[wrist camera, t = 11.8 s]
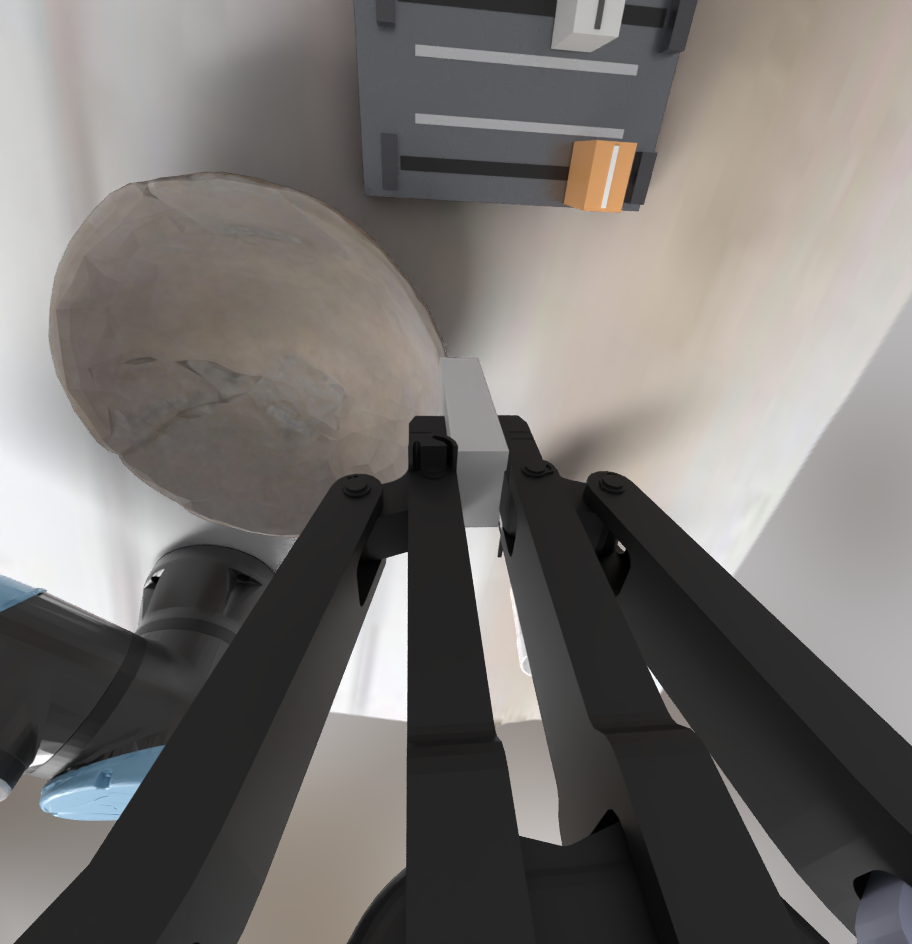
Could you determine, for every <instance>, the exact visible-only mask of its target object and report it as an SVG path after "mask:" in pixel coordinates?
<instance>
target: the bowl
mask: <svg viewBox="0 0 912 944" xmlns="http://www.w3.org/2000/svg"><path fill="white" fill-rule="evenodd" d="M49 342H50V349H51V354H52V358H53V362H54V366H55V370H56V374H57V376H58V378H59V380H60V382H61V384H62V386H63V388H64V390H65V392H66V394H67V396H68V398H69V400H70V402H71V404H72V407H73V409H74V411H75V412H76V414H77V415H78V417H79V418H80V419H81V421H82V422H83V423H84V425H85V426H86V427H87V429H88V430H89V432H90V433H91V434H92V436H93V437H94V438H95V440H96V441H97V442H98V443H99V444H101V445H102V446H103V447H104V448H105V449H107V450H108V451H111V452H113V453H116V454H118V455H119V457H120V459H121V461H122V462H123V464H124V465H125V466H126V467H127V468H128V469H129V470H131V471H132V472H133V473H134V474H135V475H136V476H137V477H138V478H140V479H141V480H142V481H144V482H145V483H146V484H148V485H149V486H150V487H152V488H153V489H155V490H157V491H158V492H160V493H161V494H163V495H165V496H167V497H168V498H170V499H172V500H173V501H175V502H177V503H179V504H180V505H181V506H183V507H184V508H185V509H186V510H188V511H189V512H190V513H192V514H194V515H196V516H198V517H201V518H203V519H205V520H208V521H211V522H214V523H217V524H220V525H224V526H228V527H232V528H235V529H239V530H242V531H245V532H249V533H256V534H263V535H269V536H283V537H287V538H291V537H299V536H300V534H301V533H302V531H303V529H304V528H305V526H306V525H307V523H308V522H309V520H310V519H311V517H312V515H313V514H314V512H315V511H316V509H317V508H318V506H319V504H320V503H321V501H322V500H323V498H324V497H325V495H326V494H327V492H328V490H329V489H330V487H331V486H332V485H333V484H334V483H335V482H336V481H337V480H338V479H340V478H342V477H344V476H347V475H351V474H367V475H371V476H374V477H375V478H377V479H378V480H380V482H381V484H384V483H388V482H392V481H395V480H397V479H399V478H401V477H402V476H403V475H404V474H405V473H406V472H407V470H408V444H409V423H410V421H411V420H412V419H413V418H414V416H438V393H439V364H440V357H445V358H447V357H446V353H445V350H444V347H443V344H442V341H441V338H440V336H439V333H438V331H437V329H436V327H435V325H434V322H433V320H432V317H431V315H430V312H429V310H428V308H427V306H426V304H425V303H424V302H423V300H422V299H421V298H420V296H419V295H418V293H417V292H416V290H415V289H414V287H413V286H412V284H411V283H410V281H409V280H408V279H407V277H406V276H405V275H404V274H403V273H402V272H401V271H400V270H399V269H398V267H397V266H396V265H395V263H394V262H393V261H392V259H391V258H390V257H389V256H388V255H387V254H386V253H385V252H384V251H383V250H382V248H381V247H380V246H379V245H378V244H377V243H376V242H375V241H374V240H373V239H372V238H371V237H370V236H369V235H368V234H367V233H366V232H365V231H364V230H363V229H362V228H361V227H359V226H358V225H357V224H355V223H354V222H352V221H351V220H350V219H348V218H347V217H345V216H344V215H342V214H341V213H340V212H338V211H337V210H335V209H334V208H332V207H331V206H329V205H328V204H326V203H324V202H323V201H321V200H319V199H317V198H315V197H313V196H311V195H308V194H306V193H303V192H300V191H297V190H294V189H292V188H290V187H288V186H287V187H284V186H279V185H276V184H273V183H270V182H267V181H264V180H261V179H258V178H253V177H248V176H242V175H236V174H231V173H225V172H215V173H214V172H202V173H196V174H189V175H181V176H173V177H163V178H158V179H154V180H150V181H145V182H137V183H129V184H127V185H125V186H123V187H122V188H120V189H118V190H116V191H114V192H112V193H110V194H109V195H108V196H107V197H106V198H105V199H104V200H103V201H102V202H101V203H100V204H99V205H98V206H97V207H96V208H95V209H94V210H93V211H92V213H91V214H90V215H89V216H88V217H87V219H86V220H85V221H84V223H83V224H82V225H81V227H80V228H79V230H78V231H77V232H76V234H75V235H74V236H73V238H72V239H71V241H70V242H69V244H68V246H67V249H66V251H65V253H64V255H63V257H62V259H61V261H60V263H59V265H58V269H57V272H56V275H55V278H54V284H53V290H52V296H51V303H50V317H49Z"/></svg>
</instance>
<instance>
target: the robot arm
mask: <svg viewBox="0 0 912 944" xmlns="http://www.w3.org/2000/svg"><path fill="white" fill-rule="evenodd" d="M499 515H500V517H501V521H502V529H501V536H500V542H499V548H498V557H501V556H502V551H503V552H504V556H505V561H506V565H507V569H508V574H509V578H510V582H511V587H512V591H513V595H514V600H515V604H516V609H517V613H518V617H519V622H520V626H521V630H522V635H523V639H524V644H525V648H526V652H527V657H528V661H529V665H530V670H531V674H532V679H533V683H534V687H535V692H536V696H537V700H538V705H539V709H540V714H541V718H542V722H543V726H544V731H545V735H546V740H547V744H548V748H549V753H550V757H551V762H552V765H553V770H554V774H555V779H556V784H557V789H558V798H559V812H558V817H559V827H560V835H561V840H562V846H559V845H555V844H551V843H547V842H543V841H538V840H534V839H530V838H526V837H522V836H519V834H518V828H517V821H516V815H515V809H514V803H513V797H512V790H511V784H510V778H509V771H508V766H507V761H506V756H505V751H504V748H503V745H502V741H501V740H500V739H499V738H498V737H497V734H496V731H495V726H494V720H493V714H492V707H491V700H490V693H489V687H488V680H487V673H486V666H485V660H484V653H483V646H482V640H481V633H480V626H479V619H478V613H477V606H476V599H475V592H474V586H473V579H472V572H471V565H470V559H469V552H468V545H467V539H466V532H465V527H498V521H499ZM618 541H620V542H621V544H622V545H623V546H624V547H625V548H626V550H625V552H624V551H623V550H622V549H621V548H620V547H619V546H618V545H617V544H618ZM405 552H408V693H407V834H406V837H407V838H406V847H407V848H406V849H407V850H406V852H407V853H406V868H405V869H403V870H402V871H401V872H400V873H399V874H398V875H397V876H396V877H394V878H393V879H392V880H391V881H390V882H389V883H388V884H387V885H386V886H385V887H384V888H383V890H382V891H381V892H380V893H379V894H378V895H377V897H376V898H375V899H374V900H373V902H372V903H371V905H370V906H369V907H368V909H367V910H366V912H365V913H364V915H363V916H362V918H361V920H360V921H359V923H358V925H357V926H356V928H355V930H354V932H353V933H352V935H351V937H350V939H349V941H348V943H347V944H829V942H828V941H827V940H826V939H824V938H823V937H822V936H821V935H820V934H819V933H818V932H817V931H816V930H815V929H814V928H813V927H812V926H811V925H810V924H809V923H808V922H807V921H806V920H805V919H804V918H803V917H802V916H801V915H799V914H798V913H797V912H796V911H795V910H794V909H793V908H792V907H791V906H790V905H789V904H788V903H787V902H786V901H785V900H784V899H783V898H782V897H781V896H780V895H779V893H778V891H777V889H776V887H775V885H774V883H773V881H772V879H771V877H770V875H769V873H768V871H767V869H766V867H765V864H764V863H763V860H762V858H761V856H760V854H759V853H758V850H757V848H756V846H755V844H754V842H753V840H752V838H751V836H750V834H749V832H748V830H747V828H746V826H745V824H744V822H743V820H742V818H741V816H740V814H739V812H738V810H737V808H736V806H735V804H734V802H733V800H732V798H731V796H730V794H729V792H728V790H727V788H726V786H725V784H724V782H723V780H722V778H721V776H720V774H719V772H718V770H717V768H716V766H715V764H714V761H713V759H712V758H711V756H712V757H713V758H714V760H715V761H716V763H717V764H718V766H719V767H720V768H721V770H722V771H723V772H724V774H725V775H726V777H727V778H728V779H729V781H730V782H731V784H732V785H733V786H734V788H735V789H736V791H737V792H738V794H739V795H740V796H741V798H742V799H743V801H744V802H745V803H746V804H747V806H748V808H749V809H750V810H751V812H752V813H753V815H754V816H755V817H756V819H757V820H758V821H759V823H760V824H761V826H762V827H763V828H764V830H765V831H766V833H767V834H768V836H769V837H770V838H771V840H772V841H773V842H774V843H775V845H776V846H777V847H778V849H779V850H780V851H781V853H782V854H783V855H784V856H785V858H786V859H787V861H788V862H789V863H790V864H791V866H792V867H793V868H794V870H795V871H796V872H797V873H798V875H799V876H800V877H801V878H802V879H803V880H804V881H805V882H806V884H807V885H808V886H809V887H810V888H811V890H812V891H813V892H814V893H815V894H816V895H817V896H818V898H819V899H820V900H821V901H822V902H823V903H824V905H825V906H826V907H827V908H828V909H829V910H830V911H831V912H832V913H833V914H834V915H835V916H836V917H837V918H838V919H839V920H840V921H841V922H842V923H843V924H844V925H845V926H846V928H847V929H848V930H849V931H850V932H851V933H852V934H853V935H854V936H855V937H856V938H857V944H912V746H911V745H910V744H909V743H908V742H907V741H906V740H905V739H904V738H903V737H902V736H901V735H899V734H898V733H897V732H896V731H895V730H894V729H893V728H892V727H891V726H890V725H889V724H888V723H887V722H886V721H885V720H884V719H883V718H881V717H880V716H879V715H878V714H877V713H876V712H875V711H874V710H873V709H872V708H871V707H870V706H869V705H868V704H867V703H866V702H865V701H863V700H862V699H861V698H860V697H859V696H858V695H857V694H856V693H855V692H854V691H853V690H852V689H851V688H850V687H849V686H847V684H846V683H844V682H843V681H842V680H841V679H840V678H839V677H838V676H837V675H836V674H835V673H834V672H833V671H832V670H831V669H830V668H829V667H828V666H826V665H825V664H824V663H823V662H822V661H821V660H820V659H819V658H818V657H817V656H816V655H815V654H814V653H813V652H812V651H810V649H809V648H807V647H806V646H805V645H804V644H803V643H802V642H801V641H800V640H799V639H798V638H797V637H796V636H795V635H794V634H793V633H792V632H790V631H789V630H788V629H787V628H786V627H785V626H784V625H783V624H782V623H781V622H780V621H779V620H778V619H777V618H776V617H775V616H774V615H773V614H771V613H770V612H769V611H768V610H767V609H766V608H765V607H764V606H763V605H762V604H761V603H760V602H759V601H758V600H757V599H756V598H755V597H753V596H752V595H751V594H750V593H749V592H748V591H747V590H746V589H745V588H744V587H743V586H742V585H741V584H740V583H739V582H738V581H737V580H736V579H734V578H733V577H732V576H731V575H730V574H729V573H728V572H727V571H726V570H725V569H724V568H723V567H722V566H721V565H720V564H719V563H718V562H716V561H715V560H714V559H713V558H712V557H711V556H710V555H709V554H708V553H707V552H706V551H705V550H704V549H703V548H702V547H701V546H700V545H698V544H697V543H696V542H695V541H694V540H693V539H692V538H691V537H690V536H689V535H688V534H687V533H686V532H685V531H684V530H683V529H682V528H681V527H679V526H678V525H677V524H676V523H675V522H674V521H673V520H672V519H671V518H670V517H669V516H668V515H667V514H666V513H665V512H664V511H663V510H661V509H660V508H659V507H658V506H657V505H656V504H655V503H654V502H653V501H652V500H651V499H650V498H649V497H648V496H647V495H646V494H645V493H643V492H642V491H641V490H640V489H639V488H638V487H637V486H636V485H635V484H634V483H633V482H632V481H630V480H629V479H628V478H626V477H625V476H622V475H620V474H617V473H614V472H608V471H598V472H595V473H592V474H591V475H590V476H589V477H588V478H587V482H586V483H582V482H577V481H572V480H568V479H565V478H562V477H560V475H559V473H558V471H557V469H556V468H555V467H554V465H552V464H550V463H549V462H547V461H545V460H543V459H542V456H541V454H540V452H539V450H538V447H537V445H536V443H535V440H534V438H533V436H532V433H531V431H530V429H529V426H528V424H527V423H526V422H525V421H524V420H523V419H522V418H520V417H519V416H517V415H497V413H496V410H495V407H494V404H493V401H492V398H491V395H490V392H489V389H488V386H487V383H486V380H485V377H484V374H483V371H482V368H481V365H480V362H479V359H478V358H445V357H440V364H439V393H438V416H414V418H413V419H412V420H411V421H410V423H409V444H408V470H407V472H406V473H405V474H404V475H403V476H402V477H401V478H399V479H397V480H395V481H392V482H388V483H384V484H381V482H380V480H378V479H377V478H375V477H374V476H371V475H367V474H351V475H347V476H344V477H342V478H340V479H338V480H337V481H336V482H335V483H334V484H333V485H332V486H331V487H330V489H329V490H328V492H327V494H326V495H325V497H324V498H323V500H322V501H321V503H320V504H319V506H318V508H317V509H316V511H315V512H314V514H313V515H312V517H311V519H310V520H309V522H308V523H307V525H306V526H305V528H304V529H303V531H302V533H301V534H300V536H299V537H298V539H297V540H296V542H295V544H294V545H293V547H292V548H291V550H290V551H289V553H288V554H287V556H286V558H285V559H284V561H283V562H282V564H281V565H280V567H279V569H278V570H277V572H276V573H275V574H274V572H273V571H272V570H271V569H270V568H269V567H268V566H266V565H265V564H264V563H262V562H261V561H259V560H258V559H256V558H254V557H252V556H250V555H248V554H245V553H243V552H240V551H237V550H234V549H230V548H225V547H219V546H209V545H200V546H190V547H184V548H180V549H177V550H174V551H172V552H170V553H168V554H166V555H165V556H163V557H162V558H161V559H160V560H159V561H158V562H157V563H156V565H155V566H154V568H153V570H152V571H151V573H150V575H149V576H148V578H147V580H146V582H145V585H144V590H143V597H142V603H141V609H140V616H139V622H138V628H137V630H136V632H135V634H134V633H132V632H131V631H128V630H126V629H124V628H121V627H119V626H117V625H115V624H113V623H111V622H109V621H107V620H104V619H102V618H100V617H98V616H96V615H94V614H92V613H89V612H87V611H85V610H83V609H81V608H79V607H77V606H74V605H72V604H70V603H68V602H66V601H64V600H62V599H60V598H57V597H55V596H53V595H51V594H49V593H47V590H45V589H43V588H37V589H36V588H33V587H31V586H28V585H26V584H23V583H21V582H18V581H16V580H13V579H11V578H8V577H6V576H3V575H0V802H1V801H3V800H4V799H6V798H7V796H8V795H9V794H10V792H11V791H12V789H13V788H14V786H15V785H16V783H17V782H18V780H19V778H20V777H21V776H22V774H27V775H31V776H35V777H39V778H43V779H45V780H47V781H48V782H47V783H46V784H45V786H44V787H43V789H42V790H41V798H40V802H39V803H40V806H41V808H42V809H43V811H45V812H51V814H52V815H53V816H57V817H62V818H66V819H75V820H117V821H116V823H115V825H114V826H113V828H112V829H111V831H110V832H109V834H108V836H107V837H106V839H105V840H104V842H103V844H102V845H101V846H100V848H99V850H98V851H97V853H96V854H95V856H94V858H93V859H92V861H91V862H90V864H89V865H88V866H87V867H86V868H85V869H84V870H83V871H82V872H81V873H80V875H79V876H78V877H77V878H76V879H75V880H74V881H73V882H72V883H71V884H70V885H69V886H68V887H67V888H66V889H65V890H64V891H63V892H62V893H61V894H60V895H59V897H58V898H57V899H56V900H55V901H54V902H53V903H52V904H51V905H50V906H49V907H48V908H47V909H46V910H45V911H44V912H43V913H42V914H41V915H40V916H39V917H38V919H37V920H36V921H35V922H34V923H33V924H32V925H31V926H30V927H29V928H28V929H27V930H26V931H25V932H24V933H23V934H22V935H21V936H20V937H19V938H18V940H17V941H16V942H15V943H14V944H237V942H238V941H239V939H240V937H241V935H242V933H243V931H244V929H245V926H246V924H247V922H248V919H249V917H250V915H251V912H252V910H253V907H254V905H255V903H256V901H257V898H258V896H259V894H260V891H261V889H262V886H263V884H264V881H265V879H266V876H267V873H268V871H269V868H270V866H271V863H272V860H273V858H274V855H275V853H276V850H277V847H278V845H279V842H280V839H281V837H282V834H283V831H284V829H285V826H286V824H287V821H288V818H289V816H290V813H291V811H292V808H293V805H294V803H295V800H296V797H297V795H298V792H299V790H300V787H301V784H302V782H303V779H304V776H305V774H306V771H307V769H308V766H309V763H310V761H311V758H312V755H313V753H314V750H315V748H316V745H317V742H318V740H319V737H320V734H321V732H322V729H323V727H324V724H325V721H326V719H327V716H328V713H329V711H330V708H331V706H332V703H333V700H334V698H335V695H336V693H337V690H338V687H339V685H340V682H341V679H342V677H343V674H344V672H345V669H346V666H347V664H348V661H349V659H350V656H351V653H352V651H353V648H354V645H355V643H356V640H357V638H358V635H359V632H360V630H361V627H362V624H363V622H364V619H365V617H366V614H367V611H368V609H369V606H370V603H371V601H372V598H373V596H374V593H375V590H376V588H377V585H378V582H379V580H380V577H381V575H382V572H383V569H384V567H385V564H386V558H388V557H391V556H395V555H398V554H402V553H405ZM647 666H648V667H649V669H650V670H651V672H652V673H653V674H654V676H655V677H656V679H657V680H658V681H659V683H660V684H661V686H662V687H663V688H664V690H665V691H666V692H667V694H668V695H669V697H670V698H671V700H672V701H673V702H674V704H675V705H676V706H677V708H678V709H679V711H680V712H681V714H682V715H683V716H684V718H685V719H686V721H687V722H688V723H689V725H690V726H691V728H692V729H693V730H694V732H695V733H696V734H695V733H694V732H693V731H692V730H691V729H690V728H687V727H684V726H681V725H679V724H677V723H676V722H675V721H674V720H673V719H672V718H671V716H670V714H669V713H668V711H667V709H666V707H665V704H664V702H663V700H662V698H661V696H660V693H659V691H658V689H657V687H656V685H655V682H654V680H653V678H652V676H651V674H650V671H649V669H648V667H647ZM710 754H711V756H710Z"/></svg>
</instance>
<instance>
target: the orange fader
mask: <svg viewBox="0 0 912 944" xmlns="http://www.w3.org/2000/svg"><path fill="white" fill-rule="evenodd" d="M636 147H637V143H629V142H616V141H602V140H592V141H577V142H574V146H573V152H572V158H571V164H570V170H569V175H568V181H567V187H566V193H565V199H564V204H565V205H568V206H571V207H574V208H577V209H580V210H583V211H600V212H618V213H621V210H622V205H623V201H624V197H625V193H626V189H627V184H628V180H629V176H630V172H631V168H632V163H633V159H634V155H635V151H636Z"/></svg>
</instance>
